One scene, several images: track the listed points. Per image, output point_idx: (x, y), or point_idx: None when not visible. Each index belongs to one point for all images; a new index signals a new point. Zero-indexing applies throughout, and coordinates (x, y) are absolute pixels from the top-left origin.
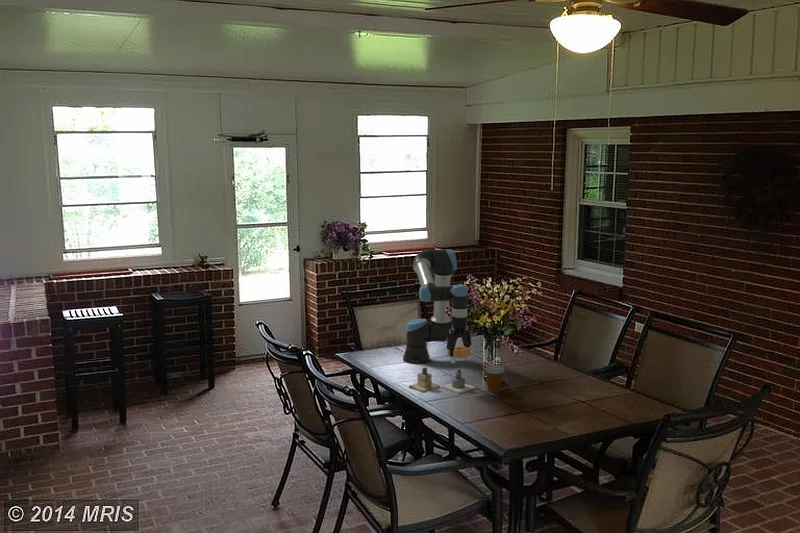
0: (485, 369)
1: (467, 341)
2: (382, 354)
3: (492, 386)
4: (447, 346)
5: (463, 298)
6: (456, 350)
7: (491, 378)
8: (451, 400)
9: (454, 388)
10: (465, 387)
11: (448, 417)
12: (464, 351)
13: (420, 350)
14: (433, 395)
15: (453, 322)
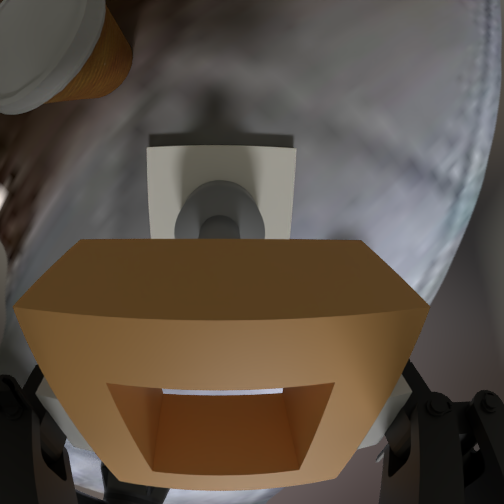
0: (71, 69)
1: (2, 491)
2: (183, 500)
3: (122, 33)
4: (478, 451)
5: None
6: (389, 384)
7: (111, 15)
8: (394, 111)
9: (266, 207)
10: (200, 177)
11: (493, 40)
12: (233, 298)
13: (135, 489)
14: (393, 222)
15: None
